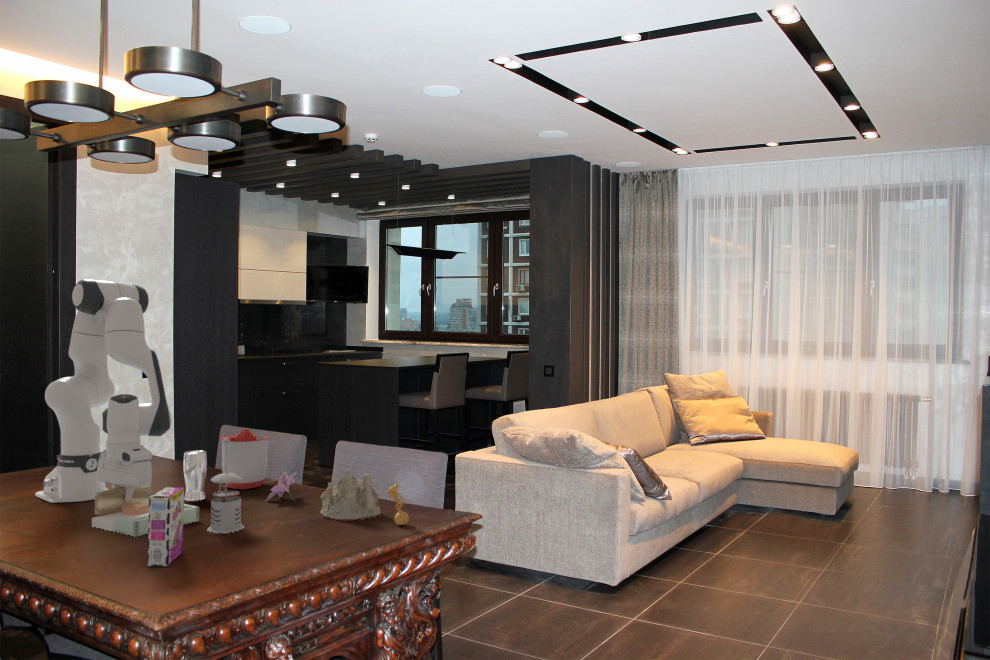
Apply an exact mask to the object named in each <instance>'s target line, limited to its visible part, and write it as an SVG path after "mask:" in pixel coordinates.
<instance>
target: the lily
mask: <svg viewBox="0 0 990 660" xmlns="http://www.w3.org/2000/svg"><path fill="white" fill-rule="evenodd" d="M297 473H298V470H297V471H295V472H293V473H292V474H291V475H290V476H289V475H288V473H287V472H286V471H283V473H282V474H281V475H280V477H279V478H278V483H277V484H276V485H275V486H273V487H272V488H270V491H271V493H270V494H269V495H268V496H267V498H266V500H265V502H268V501H269V500H270V499H272V498H273V497H274V496H276V495H277V497H279V498H280V497H281V498H282V497H283V494H284V493H285V492H288V493H289V495H290V497H291V499H292V500H294V501H295V499H294V497H293V494H292V493H291V492H290V490H289V489H290V485H291V484H293V483H295V481H296V480H295V479H294V478H295V477H294V476H295V475H296V474H297ZM267 500H268V501H267Z"/></svg>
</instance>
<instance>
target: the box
mask: <svg viewBox="0 0 990 660" xmlns="http://www.w3.org/2000/svg"><path fill="white" fill-rule="evenodd" d="M199 521H200V506H197V505H192V504H191V505H190V504H186V503H184V517H183V526H185V525H188V523H189V524H192V522H193V523H195V522H196V523H197V522H199ZM184 524H185V525H184ZM148 527H149V518H147V519H142V520H138V521H135V520H131V519H126V518H122V517H115V520H114V532H113V533H115V532H117V533H116V534H119V533H120V535H123V534H125V535H124V536H128V535H130V536H129V537H132V536H133V537H132V538H139V537H142V535H143V536H145V534H147V535H148V531H149V528H148ZM138 536H139V537H138Z"/></svg>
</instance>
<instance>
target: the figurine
mask: <svg viewBox="0 0 990 660" xmlns="http://www.w3.org/2000/svg"><path fill="white" fill-rule="evenodd" d="M398 488H399V484H398V483H396V484H394V485H393V486H390V487H389V488H388V489H387V491H386V492H387V494H388V497H389V499H392V500H393V502H395V510H396V511H397V512H396V514H395V515H394V523H395V524H396V525H397V524H399V525H404V524H406V525H407V524H408V522H409V520H410V519H409V514H408V513H407V512H406V511H402V509H401V508H402V507H403V505H404V504H407V502H406V500H405V498H403V496H402V495H401V494H400V492H399V489H398ZM399 525H398V526H399ZM404 526H405V525H404Z"/></svg>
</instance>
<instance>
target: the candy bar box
mask: <svg viewBox="0 0 990 660" xmlns="http://www.w3.org/2000/svg"><path fill="white" fill-rule="evenodd" d="M184 504H185V487H183V486H182V487H181V486H180V487H179V486H177V487H175V486H172V487H171V486H169V487H168V486H167V487H163V488H162V489H160V490H159V491H157V492H155V493H153V494H151V496H150V497H149V504H148V505H149V527H148V528H149V531H148V534H147V535H148V536H147V538H148V539H147V567H149V568H151V567H152V568H155V567H156V568H160V567H161V568H165V567H169V566H170V565H171V564H172V563H173V562H175V561H176V559H177V558H178V557H179V556H181V555H182V554H183V552H184V525H183V517H184Z"/></svg>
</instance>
